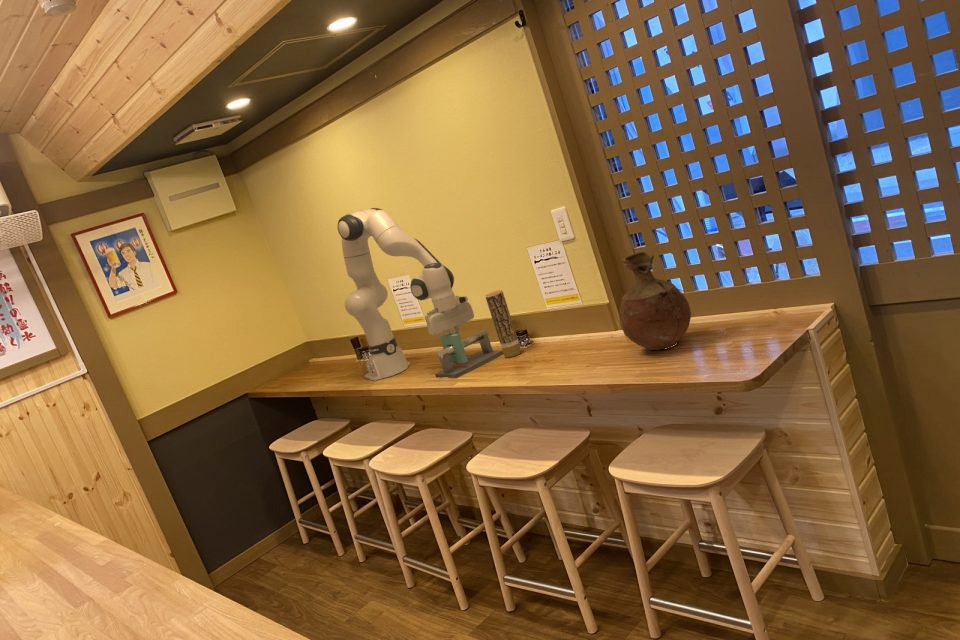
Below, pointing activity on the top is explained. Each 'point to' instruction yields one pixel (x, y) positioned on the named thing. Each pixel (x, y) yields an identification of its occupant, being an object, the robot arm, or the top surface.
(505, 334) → the bark covered log
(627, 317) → the jug
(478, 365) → the base board
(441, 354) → the pipe rig
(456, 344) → the collar
